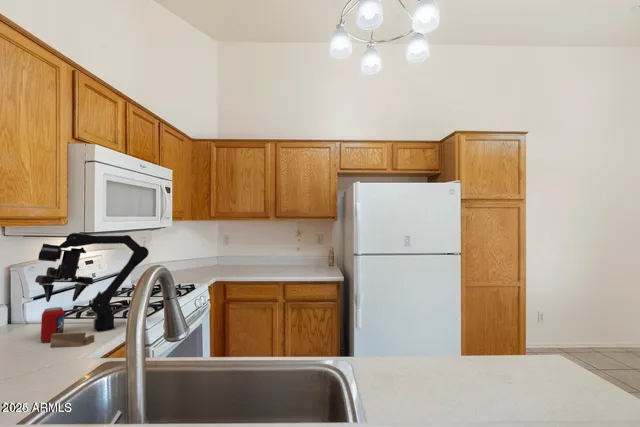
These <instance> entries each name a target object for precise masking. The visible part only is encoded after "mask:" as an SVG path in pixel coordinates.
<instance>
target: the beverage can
mask: <svg viewBox="0 0 640 427" xmlns="http://www.w3.org/2000/svg"><path fill="white" fill-rule="evenodd" d="M40 324H41V326H40V328H41V330H40V341H41V342H44V343H51V334H54V333H64V330H65V327H64V326H65V310H64V309H63V307H61V306H60V307H58V306H57V307H48V308H45V309H44V311H43V312H42V314H41V323H40Z"/></svg>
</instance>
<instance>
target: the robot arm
mask: <svg viewBox="0 0 640 427" xmlns="http://www.w3.org/2000/svg"><path fill="white" fill-rule="evenodd" d="M109 244H110V245H111V244H113V245H114V244H115V245H116V244H117V245H118V244H120V245H121V244H124V245H125V246H126V247H128V248H129V249H130V250H131V251H132V253H131V255H130V257H129V259H128V261H127V263H126V264H125V265H124V266H123V268H122V269H121V270H120V271H119V273H118V274H117V275H116V277H114V279H113V280H112V281H111V283H110V284H109V285H108V286H107V288H106V289H104V290H103V291H102V292H101V290H99V291H98V292H97V294H96V295H95V297H93V298H92V300H91V305H90V307H91V311H92V312H93V313H95V316H94V317H95V318H94V319H93V330H94V331H95V332H97V333H98V332H104V331H110V330H115V329H116V326H115V325H114V324H115V313H114V307H113V306H112V305H111V304H110V302H111V301H112V298H113V297H114V295H115V293H116V292H117V291H118V290H119V288H120V287H122V284H123V283H124V282H125V280H127V278H128V277H129V276H130V275H131V273H132V272H133V271H134V270H135V268H136V267H137V266H138V265H140V264H141V263H142V262H143V261H144V260H145V259H147V257H149V250H148V248H147V247H146V246H142V245H141V244H139V243H138V242H136V241H135V240H134V239H133V238H132V236H131V235H130V234H129V235H128V234H125V235H92V234H85V233H80V232H79V233H77V232H71V233H70V234H68V235H67V236H66V239H65V241H63V242H61V243H60V245H54V244H49V243H42V246H41V248H40V251H39V252H38V261H43V262H52V263H53V262H55V263H56V262H57V261H58V260H61V263H60V264H59V265H58V268H55V267H53V266H51V267H47V269H46V271H45V272H46V275H43V274H40V275H37V276H36V277H35V280H34V282H35V283H37V284H38V285H39V286H42V288H43V290H44V295H45V300H46V302H47V303H49V302H50V301H51V297H52V295H53V291H54V287H55V285H54V284H53V283H75V284H74V292H73V295H72V300H71V301H72V302H76V300H77V299H79V298H78V297H79V296H80V295H81V294H82V292H83V291H84V290H85V289H86V288H88V287H89V286H90V285H93V284H94V278H93V277H90V276H80V275H79V276H76V275H77V271H78V270H79V269H80V266H79V262H80V257H81V254H86V253H87V251H86V250H85V248H84V247H83V246H88V245H109ZM75 247H76V248H75ZM77 247H81V248H77ZM68 248H70V249H68Z"/></svg>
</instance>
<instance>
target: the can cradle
mask: <svg viewBox="0 0 640 427" xmlns="http://www.w3.org/2000/svg"><path fill="white" fill-rule="evenodd" d="M94 342H95V334H90V335H87V336H86V332H63V333H54V334H51V342H50V348H72V347H73V348H75V347H84V346H87V345H90V344H92V343H94Z"/></svg>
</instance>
